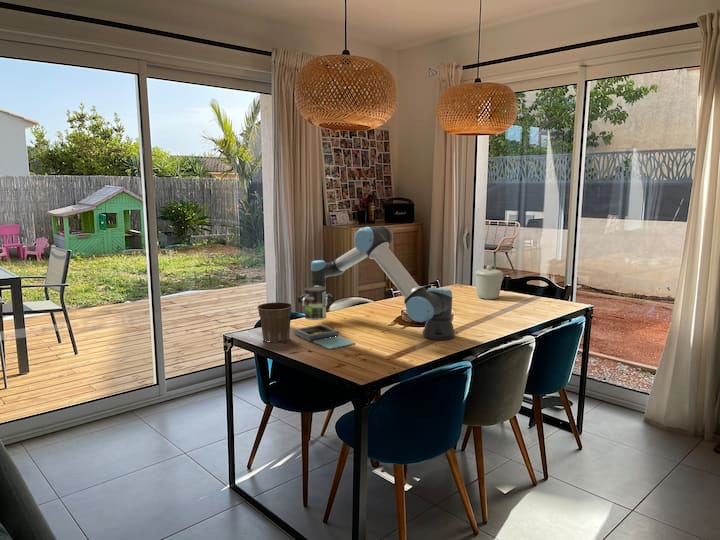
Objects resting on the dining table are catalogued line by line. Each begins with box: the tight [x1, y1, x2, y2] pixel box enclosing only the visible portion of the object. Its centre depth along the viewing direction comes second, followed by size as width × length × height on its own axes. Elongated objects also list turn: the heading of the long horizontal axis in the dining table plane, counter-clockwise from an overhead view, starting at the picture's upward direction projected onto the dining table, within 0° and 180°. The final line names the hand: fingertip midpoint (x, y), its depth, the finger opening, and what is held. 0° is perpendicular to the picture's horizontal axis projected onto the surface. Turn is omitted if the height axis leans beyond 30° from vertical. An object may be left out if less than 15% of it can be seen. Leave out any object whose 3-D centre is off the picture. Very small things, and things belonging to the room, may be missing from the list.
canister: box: [474, 264, 504, 300], centre depth 343 cm, size 18×18×21 cm
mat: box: [312, 335, 356, 350], centre depth 246 cm, size 14×14×1 cm
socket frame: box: [293, 324, 339, 343], centre depth 259 cm, size 15×15×2 cm
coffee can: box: [303, 286, 327, 321], centre depth 257 cm, size 10×10×14 cm
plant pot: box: [256, 301, 293, 343], centre depth 251 cm, size 16×16×16 cm
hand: (314, 302), depth 253 cm, fingers closed on coffee can, 10 cm apart
